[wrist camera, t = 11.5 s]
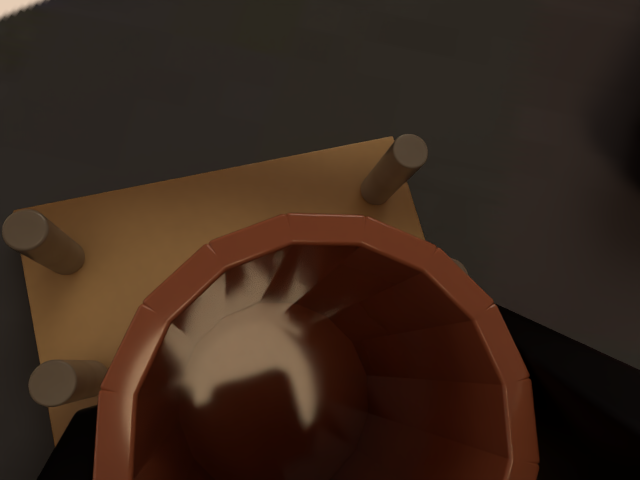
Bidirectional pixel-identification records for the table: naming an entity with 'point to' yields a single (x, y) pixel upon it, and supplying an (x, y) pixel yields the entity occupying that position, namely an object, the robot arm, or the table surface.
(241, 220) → the dish rack
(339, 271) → the cup
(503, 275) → the table surface
